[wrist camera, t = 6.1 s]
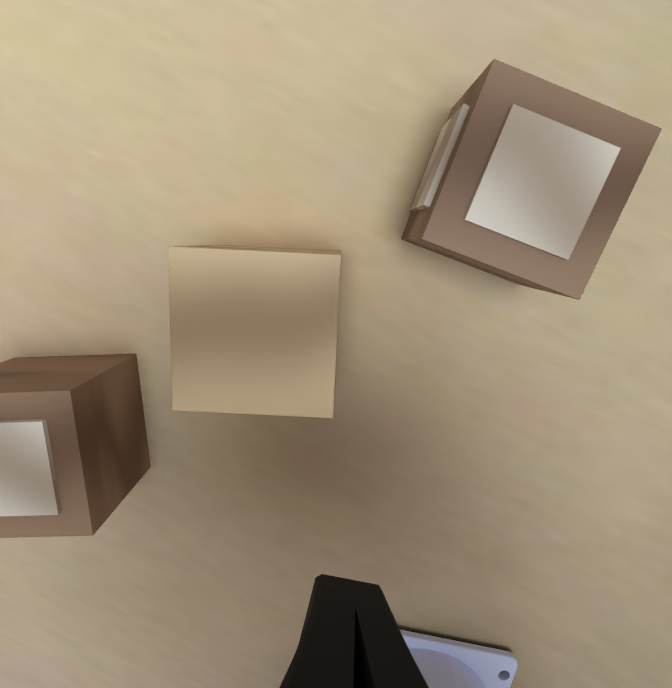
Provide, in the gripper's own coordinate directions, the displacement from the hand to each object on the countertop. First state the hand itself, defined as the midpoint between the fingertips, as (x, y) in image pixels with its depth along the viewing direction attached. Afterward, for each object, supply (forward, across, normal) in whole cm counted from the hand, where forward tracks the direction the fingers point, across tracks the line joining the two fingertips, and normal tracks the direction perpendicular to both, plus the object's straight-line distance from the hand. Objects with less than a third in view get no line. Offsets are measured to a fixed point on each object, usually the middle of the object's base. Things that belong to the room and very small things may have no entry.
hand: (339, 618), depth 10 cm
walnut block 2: (+11, -4, -10) cm, 15 cm away
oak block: (+11, +3, -4) cm, 12 cm away
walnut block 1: (+11, +10, +2) cm, 15 cm away
